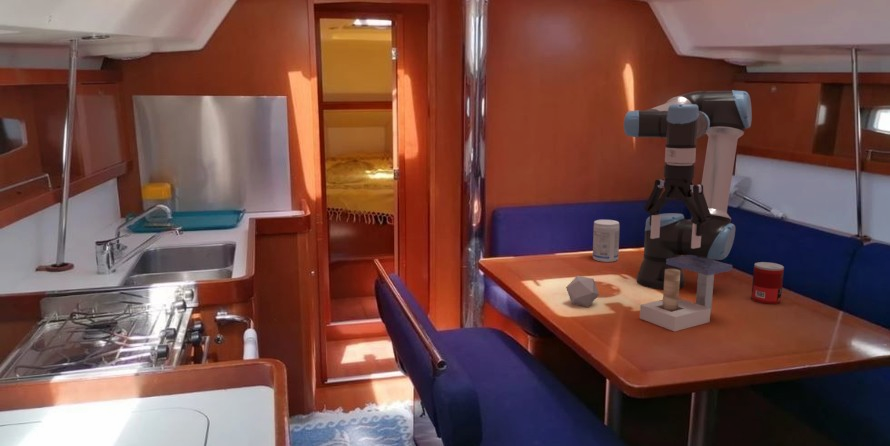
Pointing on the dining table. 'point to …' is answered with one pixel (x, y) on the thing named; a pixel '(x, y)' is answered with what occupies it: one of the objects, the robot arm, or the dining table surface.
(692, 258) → the slate blue panel
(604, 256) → the supplement tub
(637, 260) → the dining table surface
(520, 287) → the dining table surface
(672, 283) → the peg
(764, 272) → the canned food
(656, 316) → the socket block
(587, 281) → the die
